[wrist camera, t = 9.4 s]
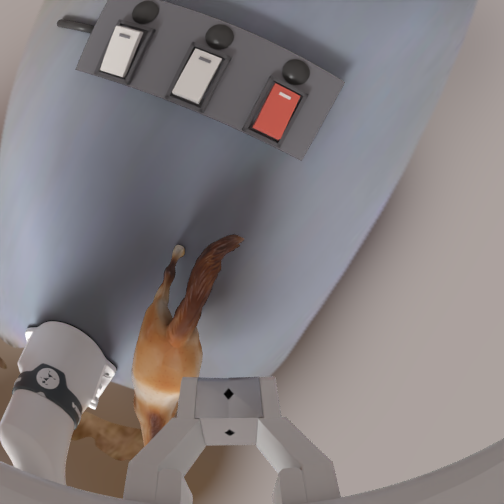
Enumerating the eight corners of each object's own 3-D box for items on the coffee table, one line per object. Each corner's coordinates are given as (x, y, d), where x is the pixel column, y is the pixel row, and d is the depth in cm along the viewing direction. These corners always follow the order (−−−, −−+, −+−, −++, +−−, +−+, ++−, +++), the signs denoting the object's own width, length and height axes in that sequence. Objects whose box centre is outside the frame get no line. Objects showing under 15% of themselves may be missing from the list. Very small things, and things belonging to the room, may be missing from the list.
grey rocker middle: (198, 105, 28) (198, 102, 27) (173, 94, 27) (171, 91, 26) (221, 62, 27) (221, 58, 26) (195, 53, 26) (195, 48, 25)
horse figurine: (179, 375, 51) (168, 481, 33) (137, 363, 49) (113, 468, 31) (243, 217, 38) (255, 337, 20) (183, 197, 36) (139, 304, 18)
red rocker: (276, 140, 30) (280, 138, 29) (251, 128, 29) (254, 125, 28) (295, 99, 29) (300, 95, 28) (271, 87, 29) (275, 82, 27)
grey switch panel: (296, 155, 35) (303, 162, 31) (44, 59, 26) (27, 58, 23) (336, 82, 31) (348, 82, 27) (77, -12, 22) (63, -20, 19)
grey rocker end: (128, 75, 27) (122, 77, 25) (106, 68, 26) (99, 70, 25) (145, 32, 24) (139, 32, 23) (122, 25, 23) (115, 25, 22)
